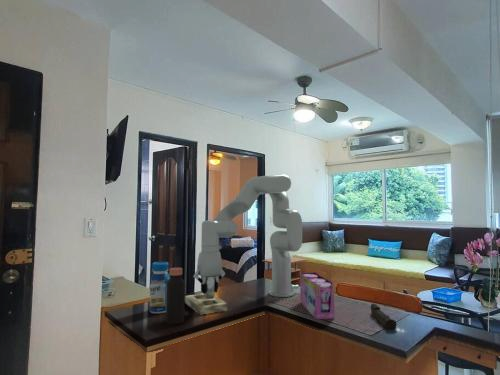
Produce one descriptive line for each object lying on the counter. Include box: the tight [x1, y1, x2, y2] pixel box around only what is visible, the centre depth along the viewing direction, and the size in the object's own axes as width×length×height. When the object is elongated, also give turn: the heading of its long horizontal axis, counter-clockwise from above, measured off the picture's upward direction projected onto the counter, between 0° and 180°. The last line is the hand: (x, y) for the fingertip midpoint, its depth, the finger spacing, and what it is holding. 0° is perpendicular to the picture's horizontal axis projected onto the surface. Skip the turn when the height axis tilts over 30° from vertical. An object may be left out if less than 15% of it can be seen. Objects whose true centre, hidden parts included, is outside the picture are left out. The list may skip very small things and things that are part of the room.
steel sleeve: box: [204, 276, 216, 299], centre depth 136 cm, size 4×4×9 cm
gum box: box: [299, 272, 335, 320], centre depth 135 cm, size 24×8×14 cm, turn 7°
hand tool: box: [370, 303, 397, 331], centre depth 122 cm, size 19×4×5 cm, turn 176°
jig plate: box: [184, 293, 228, 316], centre depth 140 cm, size 12×20×3 cm, turn 30°
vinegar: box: [165, 267, 186, 326], centre depth 122 cm, size 7×7×20 cm
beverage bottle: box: [148, 261, 170, 314], centre depth 135 cm, size 8×8×20 cm
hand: (209, 291), depth 136 cm, fingers closed on steel sleeve, 4 cm apart
